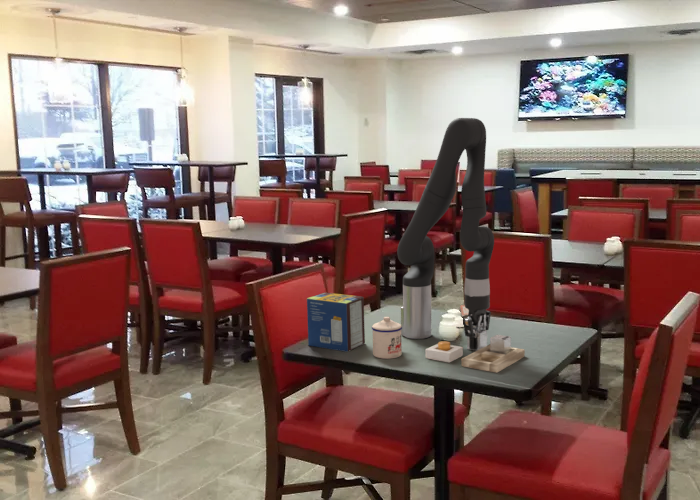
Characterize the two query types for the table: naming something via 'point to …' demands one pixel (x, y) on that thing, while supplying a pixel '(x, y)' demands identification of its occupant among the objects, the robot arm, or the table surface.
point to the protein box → (336, 321)
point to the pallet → (492, 359)
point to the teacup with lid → (387, 339)
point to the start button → (444, 345)
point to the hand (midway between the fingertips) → (477, 347)
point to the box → (444, 353)
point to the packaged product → (464, 312)
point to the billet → (500, 344)
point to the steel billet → (479, 339)
